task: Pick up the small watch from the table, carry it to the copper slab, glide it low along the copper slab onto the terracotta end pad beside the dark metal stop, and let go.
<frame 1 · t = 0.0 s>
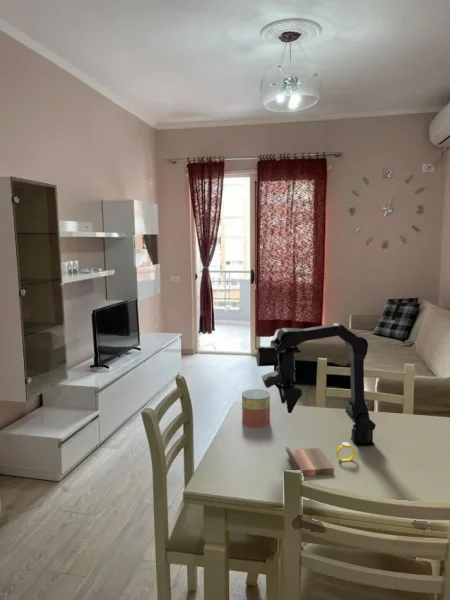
hand: (286, 407, 161), 15 cm above the table, tool pointing down, fingers open, 9 cm apart
watch: (345, 460, 153), on the table
copper slab: (308, 464, 151), on the table
canned food: (256, 423, 185), on the table
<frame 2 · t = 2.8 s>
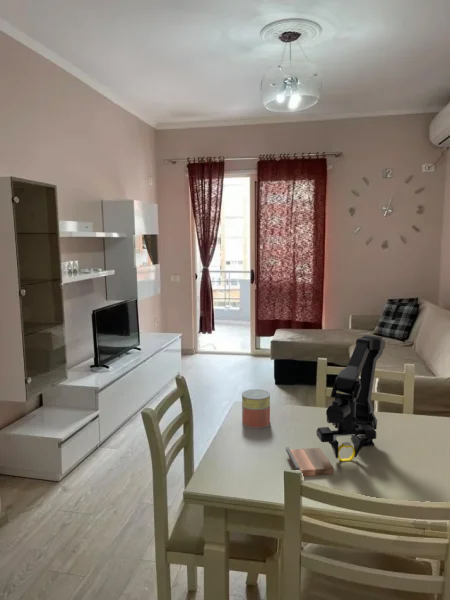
hand: (345, 457, 153), 1 cm above the table, tool pointing down, fingers closed on watch, 6 cm apart
watch: (345, 460, 153), on the table, touching gripper
everything else where it was.
when the fingers open (4 cm above the table, at t = 8.2 s): watch stays where it is, resting on copper slab.
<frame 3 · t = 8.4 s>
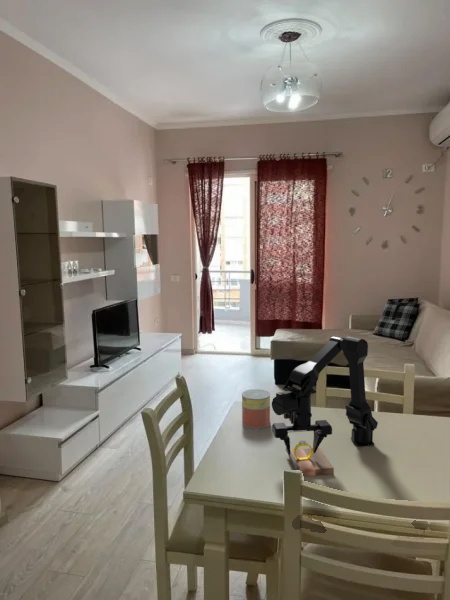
hand: (301, 453, 150), 4 cm above the table, tool pointing down, fingers open, 8 cm apart
watch: (303, 459, 150), point 2 cm above the table, touching copper slab
everything else where it was.
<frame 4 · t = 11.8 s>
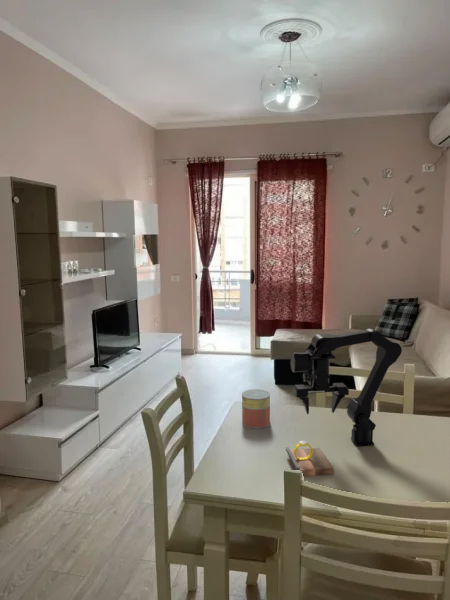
hand: (320, 413, 163), 12 cm above the table, tool pointing down, fingers open, 9 cm apart
nothing on the table moved.
at the end: watch 0.9 cm from the target spot, point 1.8 cm above the table; watch tilted 0°; the gripper is holding nothing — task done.
